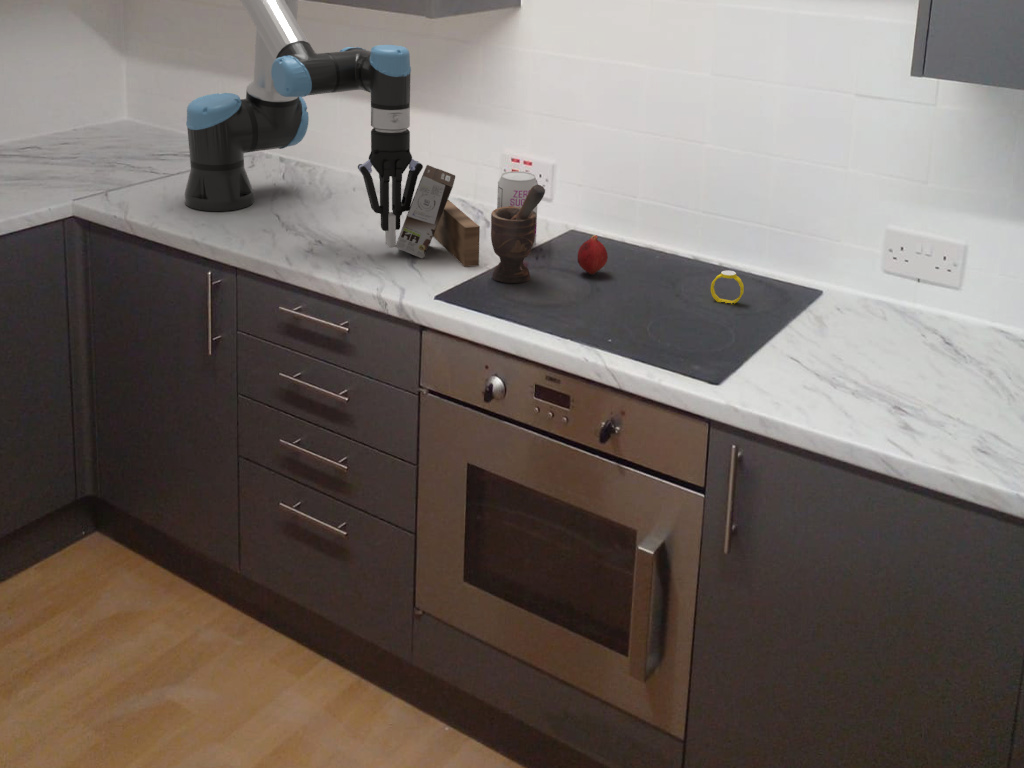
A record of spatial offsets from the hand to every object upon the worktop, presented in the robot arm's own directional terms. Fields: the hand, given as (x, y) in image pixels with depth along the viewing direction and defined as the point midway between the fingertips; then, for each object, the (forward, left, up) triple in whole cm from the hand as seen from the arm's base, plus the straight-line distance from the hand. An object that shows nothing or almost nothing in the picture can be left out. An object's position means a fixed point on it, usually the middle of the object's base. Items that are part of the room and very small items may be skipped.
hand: (390, 245), depth 246 cm
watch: (+43, +52, -2) cm, 68 cm away
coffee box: (0, +4, -1) cm, 5 cm away
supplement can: (+2, +26, -2) cm, 26 cm away
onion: (+22, +34, -2) cm, 41 cm away
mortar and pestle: (+21, +19, -2) cm, 29 cm away
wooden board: (-1, +13, -2) cm, 13 cm away
